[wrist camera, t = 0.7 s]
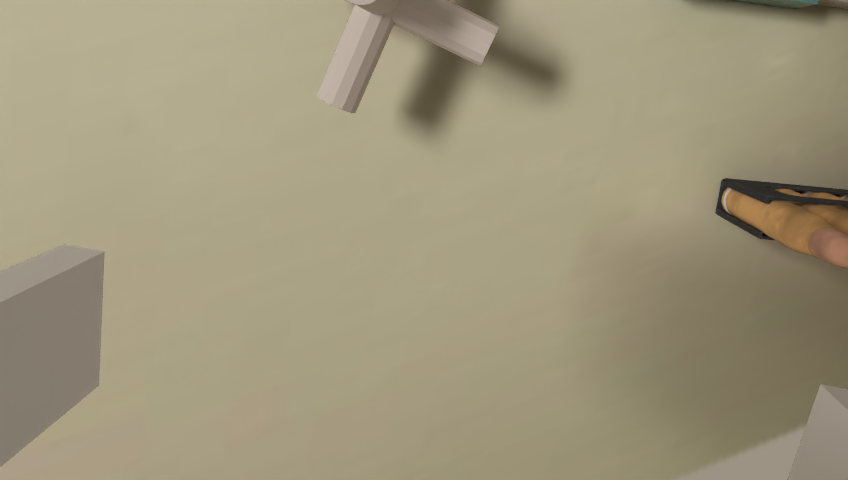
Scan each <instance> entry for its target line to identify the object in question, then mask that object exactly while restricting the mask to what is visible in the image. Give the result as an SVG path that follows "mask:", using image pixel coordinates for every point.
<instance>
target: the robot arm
mask: <svg viewBox="0 0 848 480" xmlns="http://www.w3.org/2000/svg"><path fill="white" fill-rule="evenodd" d="M103 274H104V251H98V250H93V249H88V248H82V247H77V246H71V245H66V244H64V245H62V246H59V247H57V248H55V249H52V250H50V251H48V252H45V253H43V254H40V255H38V256H36V257H33V258H31V259H29V260H26V261H24V262H22V263H19V264H17V265H15V266H12V267H10V268H7V269H5V270H3V271H0V467H1V466H2V465H3V464H5V463H6V462H7V461H8V460H9V459H11V458H12V457H13V456H14V455H15V454H17V453H18V452H19V451H20V450H22V449H23V448H24V447H25V446H26V445H28V444H29V443H30V442H31V441H32V440H34V439H35V438H36V437H37V436H38V435H40V434H41V433H42V432H43V431H44V430H46V429H47V428H48V427H49V426H51V425H52V424H53V423H54V422H55V421H57V420H58V419H59V418H60V417H61V416H63V415H64V414H65V413H66V412H67V411H69V410H70V409H71V408H72V407H73V406H75V405H76V404H77V403H78V402H80V401H81V400H82V399H83V398H84V397H86V396H87V395H88V394H89V393H90V392H92V391H93V390H94V389H95V388H96V387H98V386H99V369H100V346H101V322H102V298H103ZM787 480H848V389H844V388H839V387H833V386H828V385H822V384H820V387H819V390H818V393H817V395H816V398H815V401H814V404H813V407H812V410H811V413H810V416H809V419H808V421H807V424H806V427H805V430H804V433H803V436H802V439H801V442H800V445H799V447H798V450H797V454H796V456H795V459H794V462H793V465H792V468H791V471H790V474H789V477H788V479H787Z"/></svg>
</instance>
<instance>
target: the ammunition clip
mask: <svg viewBox="0 0 848 480" xmlns="http://www.w3.org/2000/svg"><path fill="white" fill-rule="evenodd" d="M716 214H717V215H719V216H721V217H722V218H724V219H726V220H728V221H729V222H731V223H733V224H735V225H736V226H738V227H740V228H742V229H743V230H745V231H747V232H749V233H750V234H752V235H754V236H756V237H757V238H760V239H769V240H776V241H778V242H780V243H782V244H783V245H785V246H787V247H789V248H791V249H793V250H795V251H797V252H800V253H806V254H810V255H812V256H814V257H817V258H820V259H822V260H824V261H826V262H828V263H831V264H834V265H837V266H840V267H846V268H848V190H844V189H833V188H822V187H812V186H801V185H790V184H780V183H769V182H759V181H748V180H737V179H727V178H725V179H723V180H722V182H721V187H720V192H719V197H718V202H717V208H716Z"/></svg>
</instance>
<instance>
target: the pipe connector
mask: <svg viewBox="0 0 848 480" xmlns="http://www.w3.org/2000/svg"><path fill="white" fill-rule="evenodd" d="M346 1H348V2H350V3H352V4H354V5H355V6H354V8H353V10H352V13H351V15H350V17H349V20H348V22H347V25H346V27H345V29H344V32H343V34H342V37H341V39H340V41H339V44H338V46H337V49H336V51H335V53H334V56H333V58H332V61H331V63H330V65H329V68H328V70H327V72H326V75H325V77H324V80H323V82H322V84H321V87H320V89H319V92H318V94H317V97H319V98H320V99H321V100H323V101H325V102H327V103H329V104H330V105H332V106H335V107H337V108H339V109H341V110H344V111H347V112H350V113H355V112H356V110H357V108H358V105H359V103H360V101H361V98H362V96H363V94H364V92H365V89H366V87H367V85H368V82H369V80H370V78H371V76H372V73H373V71H374V69H375V66H376V64H377V62H378V60H379V57H380V55H381V53H382V50H383V48H384V46H385V44H386V41H387V39H388V37H389V34H390V32H391V30H392V27H393V25H394V24H395V25H397V26H399V27H401V28H403V29H405V30H407V31H409V32H411V33H413V34H415V35H417V36H419V37H421V38H423V39H425V40H427V41H429V42H431V43H433V44H435V45H437V46H439V47H442V48H444V49H446V50H448V51H450V52H452V53H454V54H456V55H458V56H460V57H462V58H464V59H466V60H468V61H470V62H472V63H474V64H476V65H478V66H480V67H481V65H482V63H483V61H484V59H485V57H486V55H487V53H488V51H489V48H490V46H491V44H492V42H493V40H494V38H495V36H496V34H497V32H498V29H499V27H500V25H498V24H496V23H493V22H491V21H489V20H487V19H485V18H483V17H481V16H479V15H477V14H475V13H473V12H471V11H469V10H467V9H465V8H463V7H461V6H459V5H457V4H455V3H453V2H451V1H449V0H346Z"/></svg>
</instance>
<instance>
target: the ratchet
mask: <svg viewBox="0 0 848 480" xmlns="http://www.w3.org/2000/svg"><path fill="white" fill-rule="evenodd" d="M736 1H743V2H751V3H758V4H765V5H772V6H780V7H787V8H794V9H796V8H801V7H806V6H810V5H815V4H816V5H823V6H830V7H838V8H845V9H848V0H736Z"/></svg>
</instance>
